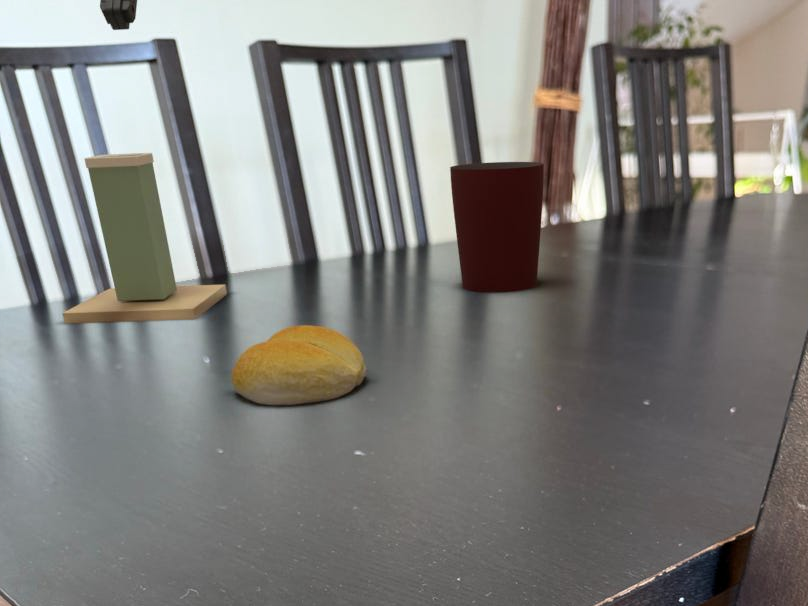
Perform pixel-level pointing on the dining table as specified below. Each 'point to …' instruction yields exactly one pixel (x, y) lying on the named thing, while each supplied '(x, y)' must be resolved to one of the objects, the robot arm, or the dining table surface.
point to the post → (132, 225)
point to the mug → (498, 224)
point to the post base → (147, 306)
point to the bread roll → (299, 367)
